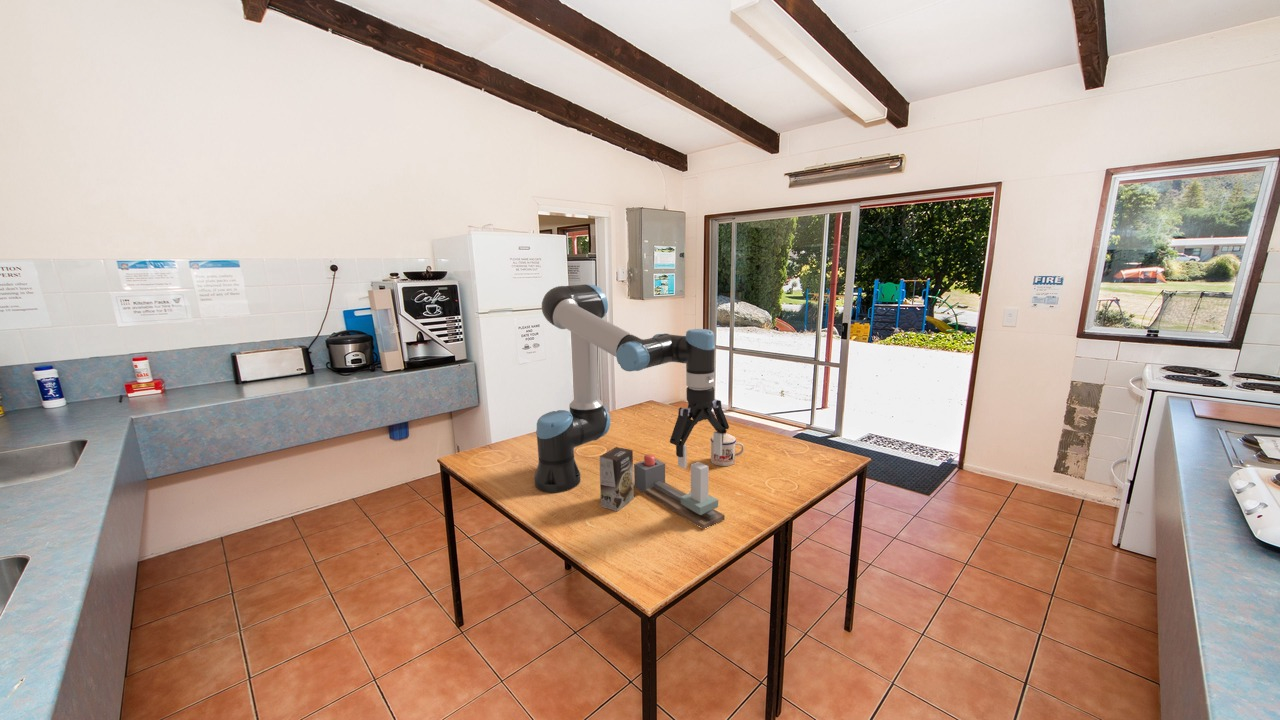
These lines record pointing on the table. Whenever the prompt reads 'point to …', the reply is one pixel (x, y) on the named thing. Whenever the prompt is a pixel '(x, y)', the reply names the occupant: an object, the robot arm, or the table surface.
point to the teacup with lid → (726, 451)
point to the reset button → (649, 460)
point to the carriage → (699, 491)
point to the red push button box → (648, 475)
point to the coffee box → (616, 478)
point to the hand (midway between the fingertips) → (700, 460)
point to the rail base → (673, 501)
